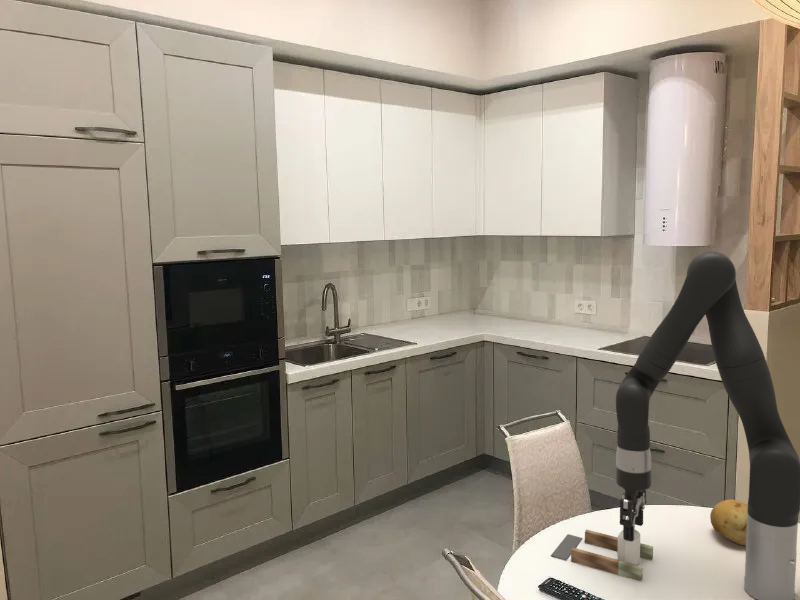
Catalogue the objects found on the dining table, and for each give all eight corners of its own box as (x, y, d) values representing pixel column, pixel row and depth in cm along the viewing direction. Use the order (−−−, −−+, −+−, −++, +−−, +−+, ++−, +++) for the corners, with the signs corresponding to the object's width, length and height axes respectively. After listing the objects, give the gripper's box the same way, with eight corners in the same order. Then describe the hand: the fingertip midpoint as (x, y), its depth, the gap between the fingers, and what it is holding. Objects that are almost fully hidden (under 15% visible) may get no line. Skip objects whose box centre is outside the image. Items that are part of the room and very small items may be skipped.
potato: (734, 525, 164) (735, 489, 163) (770, 550, 152) (772, 511, 151) (699, 530, 162) (700, 493, 161) (732, 555, 150) (734, 515, 149)
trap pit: (582, 539, 160) (582, 537, 160) (566, 560, 150) (566, 559, 150) (567, 535, 162) (567, 534, 162) (550, 556, 152) (550, 555, 152)
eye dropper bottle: (644, 569, 145) (645, 520, 144) (619, 569, 145) (620, 520, 144) (637, 559, 150) (638, 511, 148) (613, 559, 150) (614, 512, 148)
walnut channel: (652, 558, 150) (653, 546, 149) (641, 581, 140) (641, 569, 140) (586, 540, 159) (586, 529, 158) (571, 561, 149) (571, 549, 149)
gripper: (643, 479, 136) (642, 550, 138) (657, 457, 148) (657, 523, 150) (607, 473, 140) (608, 541, 142) (624, 452, 152) (625, 516, 154)
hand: (633, 532), depth 146 cm, fingers open, 8 cm apart
